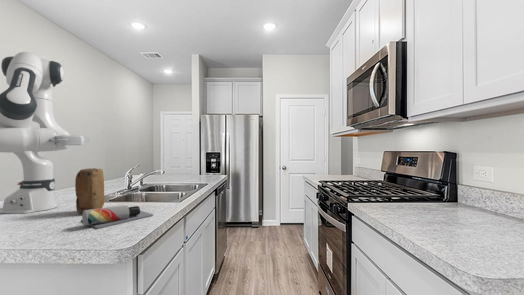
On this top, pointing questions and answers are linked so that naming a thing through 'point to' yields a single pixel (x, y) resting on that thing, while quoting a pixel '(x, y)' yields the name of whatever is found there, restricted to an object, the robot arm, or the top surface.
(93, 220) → the lotion bottle
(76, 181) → the block
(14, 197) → the robot arm
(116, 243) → the top surface
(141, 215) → the mat
